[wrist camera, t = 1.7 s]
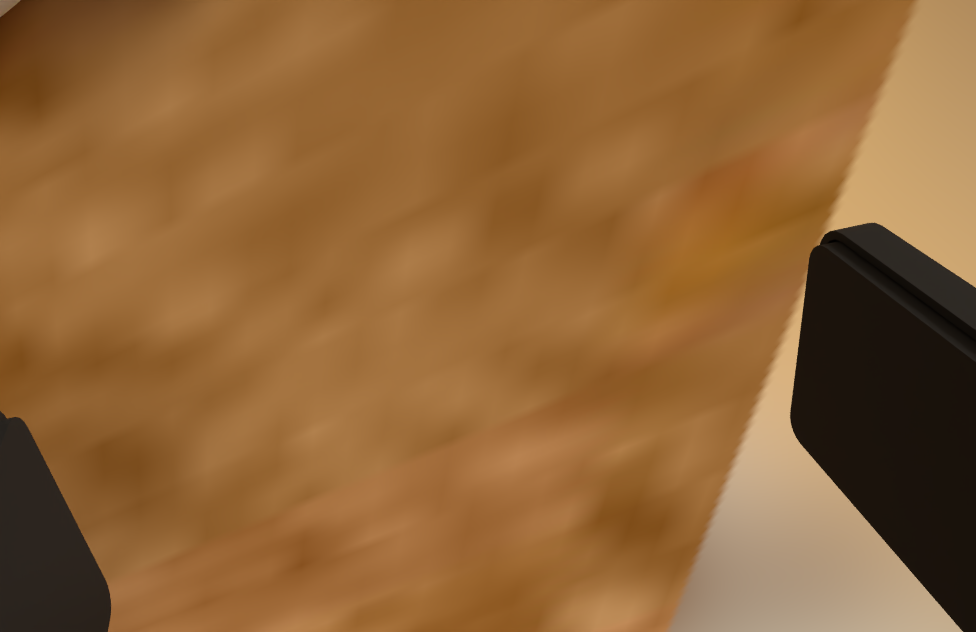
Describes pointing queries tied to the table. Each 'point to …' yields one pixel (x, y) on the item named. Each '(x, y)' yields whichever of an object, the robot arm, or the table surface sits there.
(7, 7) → the beverage can
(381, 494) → the table surface
